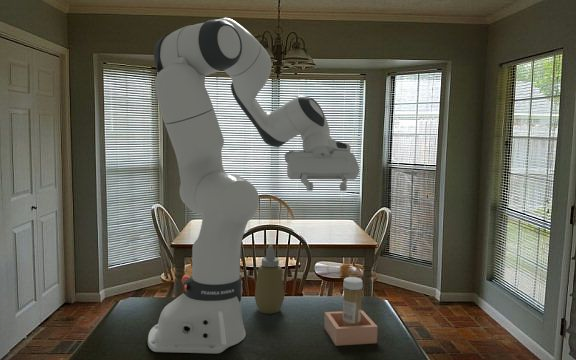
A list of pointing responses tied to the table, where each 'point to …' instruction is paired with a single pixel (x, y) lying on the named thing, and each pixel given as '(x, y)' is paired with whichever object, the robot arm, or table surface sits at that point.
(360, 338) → the terracotta socket
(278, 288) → the squeeze bottle
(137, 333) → the table surface
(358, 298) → the sprinkles bottle
